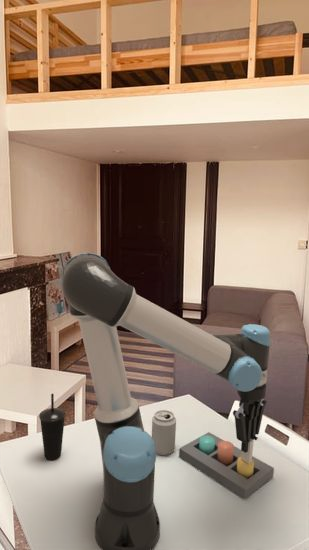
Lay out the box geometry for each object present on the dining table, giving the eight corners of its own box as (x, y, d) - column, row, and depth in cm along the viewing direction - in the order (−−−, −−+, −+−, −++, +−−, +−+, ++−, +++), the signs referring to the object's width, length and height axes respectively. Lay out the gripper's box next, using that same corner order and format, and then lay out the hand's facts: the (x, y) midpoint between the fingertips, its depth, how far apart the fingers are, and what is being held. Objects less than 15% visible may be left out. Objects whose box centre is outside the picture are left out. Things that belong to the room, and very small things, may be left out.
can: (172, 458, 123) (174, 422, 121) (148, 454, 124) (150, 418, 122) (176, 444, 130) (178, 410, 128) (153, 441, 131) (155, 406, 129)
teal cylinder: (207, 460, 121) (208, 445, 120) (195, 453, 124) (196, 439, 124) (216, 454, 124) (217, 440, 123) (205, 448, 128) (206, 433, 127)
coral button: (226, 467, 116) (227, 452, 115) (213, 460, 119) (214, 444, 118) (235, 461, 119) (237, 445, 118) (223, 454, 122) (224, 439, 121)
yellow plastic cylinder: (246, 484, 111) (247, 468, 110) (232, 476, 114) (234, 460, 114) (255, 477, 114) (257, 461, 113) (242, 469, 118) (243, 454, 117)
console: (244, 500, 106) (245, 489, 106) (178, 457, 123) (179, 448, 123) (273, 477, 116) (273, 467, 115) (208, 440, 133) (208, 432, 132)
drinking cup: (46, 467, 116) (46, 402, 113) (35, 454, 122) (34, 392, 119) (70, 457, 121) (70, 395, 118) (58, 445, 127) (57, 386, 124)
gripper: (250, 393, 102) (243, 476, 106) (277, 379, 111) (270, 457, 115) (226, 383, 108) (221, 463, 112) (253, 371, 117) (248, 445, 121)
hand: (246, 460), depth 113 cm, fingers closed
